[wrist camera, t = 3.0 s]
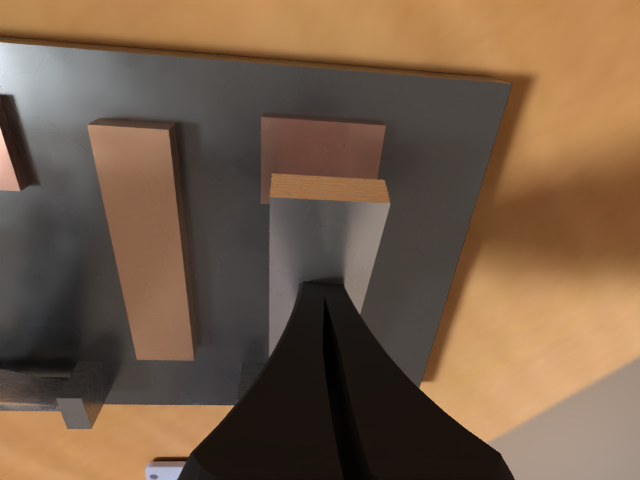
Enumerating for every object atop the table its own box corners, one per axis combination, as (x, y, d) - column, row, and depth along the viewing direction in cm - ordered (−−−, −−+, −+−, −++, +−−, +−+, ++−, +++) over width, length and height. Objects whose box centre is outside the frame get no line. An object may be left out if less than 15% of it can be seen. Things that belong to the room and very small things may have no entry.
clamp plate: (406, 383, 22) (424, 442, 19) (-57, 377, 20) (-119, 442, 17) (492, 77, 14) (546, 95, 11) (-265, 14, 12) (-453, 16, 9)
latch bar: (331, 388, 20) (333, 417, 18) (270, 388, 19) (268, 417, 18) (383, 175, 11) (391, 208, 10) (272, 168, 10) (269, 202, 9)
